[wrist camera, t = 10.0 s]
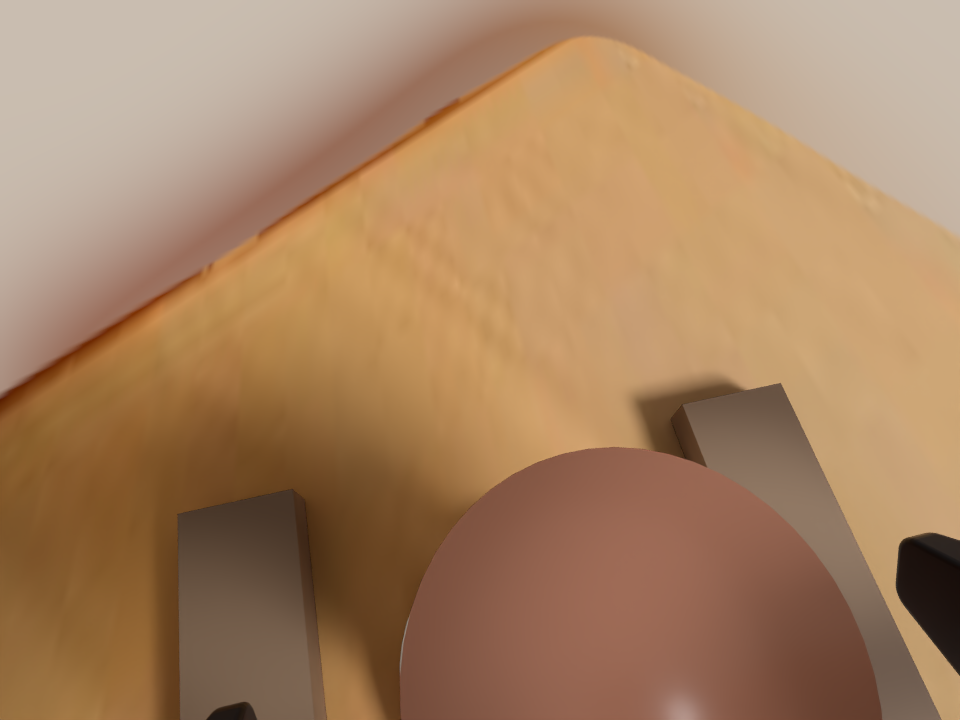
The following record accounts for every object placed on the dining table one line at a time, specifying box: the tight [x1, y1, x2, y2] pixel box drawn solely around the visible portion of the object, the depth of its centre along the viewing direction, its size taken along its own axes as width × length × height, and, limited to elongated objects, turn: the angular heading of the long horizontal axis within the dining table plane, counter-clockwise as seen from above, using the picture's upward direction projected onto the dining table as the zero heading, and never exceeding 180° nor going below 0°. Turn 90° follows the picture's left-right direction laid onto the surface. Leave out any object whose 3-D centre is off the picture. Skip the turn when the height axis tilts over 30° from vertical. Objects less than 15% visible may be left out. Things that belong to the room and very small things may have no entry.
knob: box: [400, 447, 882, 720], centre depth 11 cm, size 7×7×10 cm
